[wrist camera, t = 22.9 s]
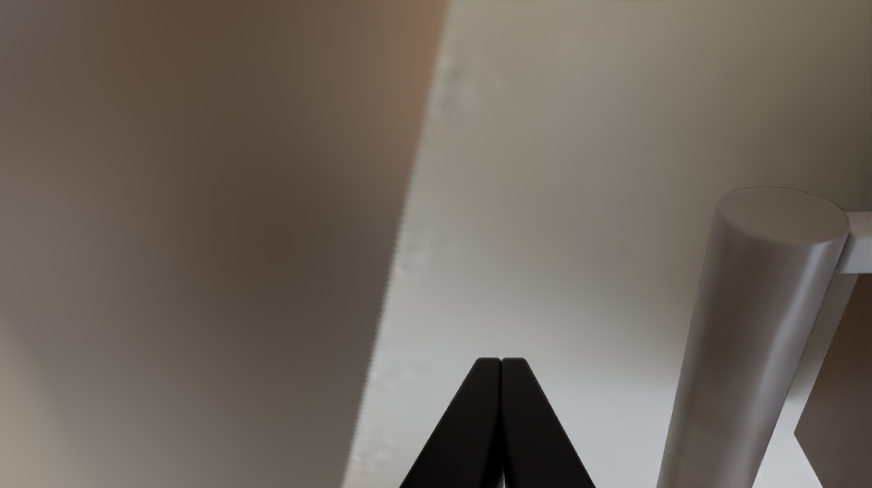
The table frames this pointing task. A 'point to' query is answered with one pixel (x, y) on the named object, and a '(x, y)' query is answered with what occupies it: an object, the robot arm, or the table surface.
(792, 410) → the table surface
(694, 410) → the drawer
